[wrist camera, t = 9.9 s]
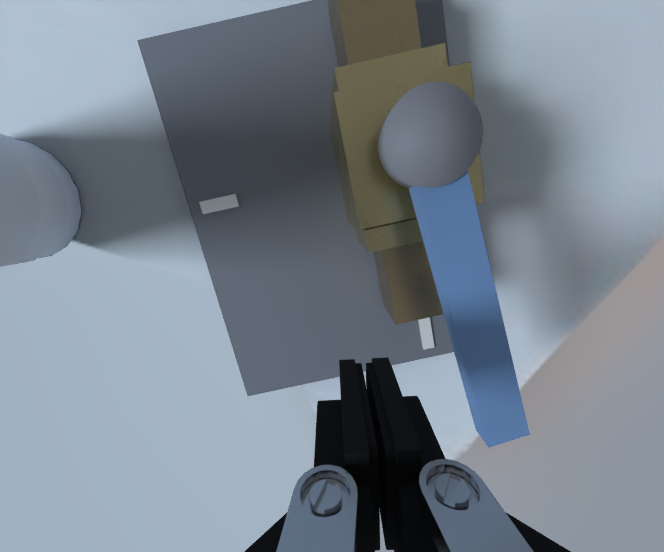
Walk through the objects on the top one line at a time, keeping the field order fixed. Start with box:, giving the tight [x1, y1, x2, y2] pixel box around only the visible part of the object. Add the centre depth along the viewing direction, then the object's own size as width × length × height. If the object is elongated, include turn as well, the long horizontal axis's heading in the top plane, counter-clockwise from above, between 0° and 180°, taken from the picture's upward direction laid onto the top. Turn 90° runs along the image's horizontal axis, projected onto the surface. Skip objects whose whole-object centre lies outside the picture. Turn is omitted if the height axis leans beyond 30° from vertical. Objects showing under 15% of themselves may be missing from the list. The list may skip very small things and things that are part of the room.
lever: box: [378, 82, 529, 447], centre depth 13 cm, size 16×4×1 cm, turn 19°
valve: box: [328, 0, 485, 325], centre depth 17 cm, size 6×18×8 cm, turn 12°
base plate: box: [137, 0, 454, 396], centre depth 21 cm, size 18×24×1 cm
